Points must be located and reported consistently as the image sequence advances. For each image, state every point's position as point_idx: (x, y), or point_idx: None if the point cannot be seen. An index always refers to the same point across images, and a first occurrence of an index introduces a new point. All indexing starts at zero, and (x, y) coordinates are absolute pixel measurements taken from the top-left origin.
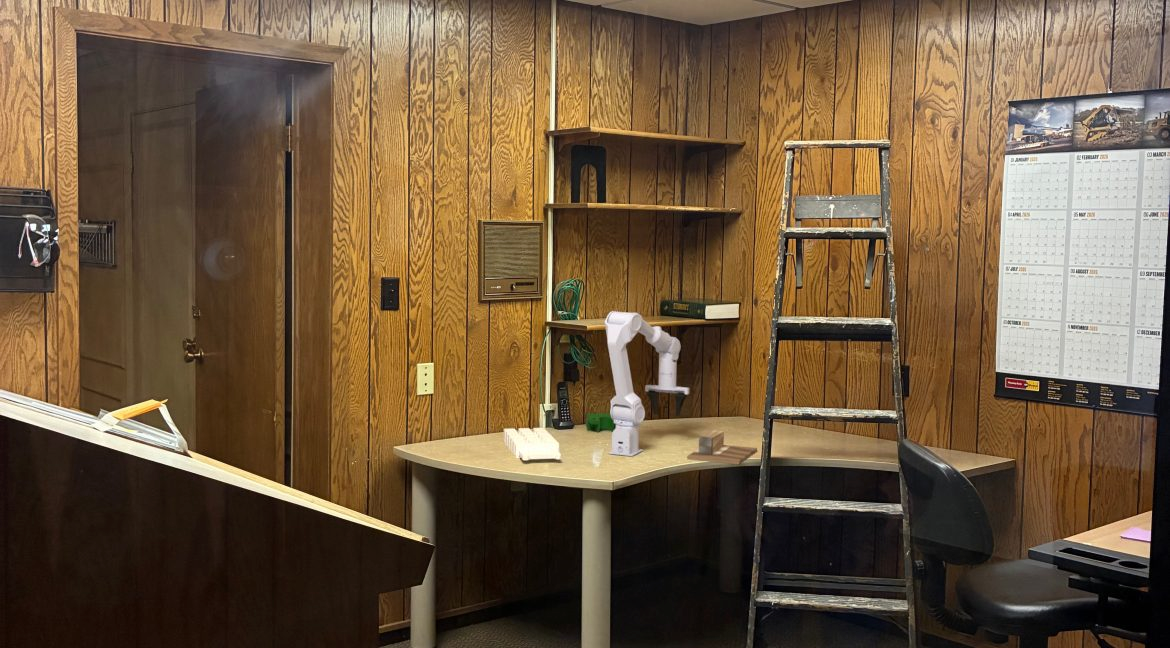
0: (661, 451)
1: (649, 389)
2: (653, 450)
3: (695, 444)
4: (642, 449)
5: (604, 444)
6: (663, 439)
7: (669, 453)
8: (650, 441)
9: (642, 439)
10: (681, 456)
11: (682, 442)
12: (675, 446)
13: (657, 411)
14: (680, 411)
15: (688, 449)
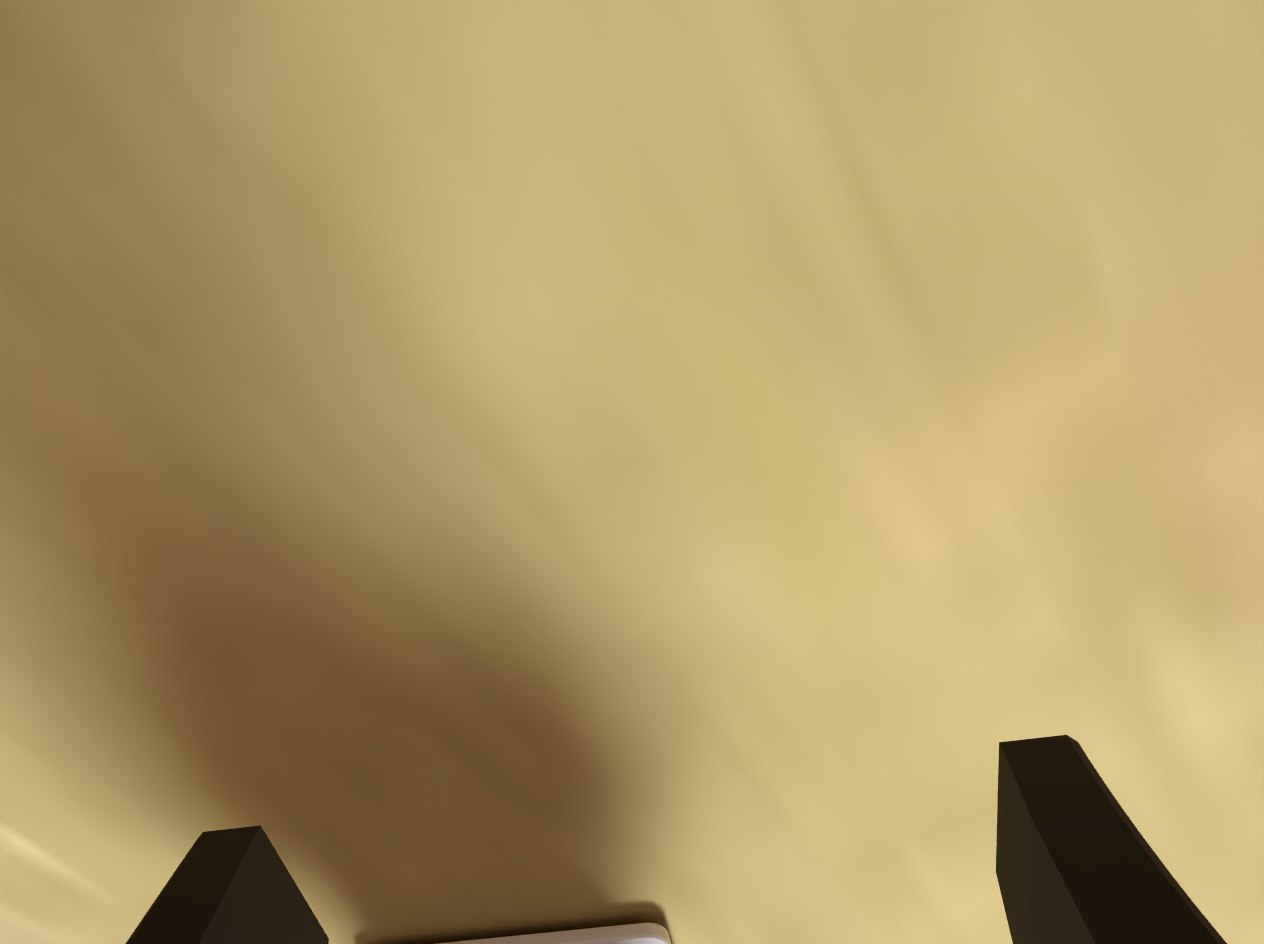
0: (866, 825)
1: None
2: (745, 830)
3: (1239, 102)
4: (659, 941)
5: (7, 864)
6: (349, 22)
7: None
8: (298, 377)
9: (40, 303)
10: (1204, 898)
11: (893, 74)
12: (914, 488)
13: (246, 890)
14: (1140, 835)
15: (1200, 562)
